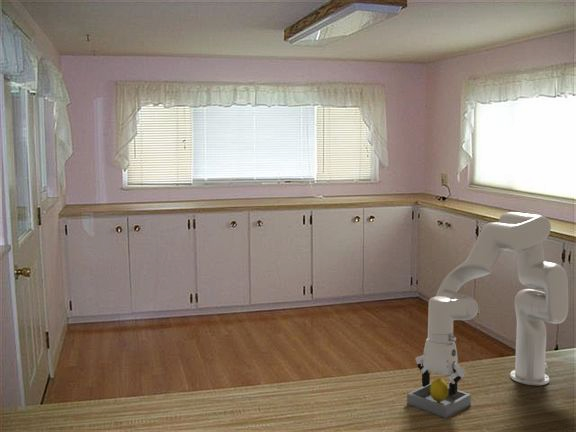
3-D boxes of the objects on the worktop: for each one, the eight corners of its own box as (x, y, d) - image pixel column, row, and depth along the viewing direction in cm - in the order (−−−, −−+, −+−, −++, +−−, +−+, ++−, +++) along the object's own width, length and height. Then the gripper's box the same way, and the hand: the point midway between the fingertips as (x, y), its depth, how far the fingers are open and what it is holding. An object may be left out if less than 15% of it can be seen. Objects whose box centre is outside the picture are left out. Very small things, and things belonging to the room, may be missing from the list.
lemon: (448, 407, 179) (449, 382, 178) (429, 405, 180) (430, 380, 179) (446, 399, 184) (448, 375, 183) (429, 398, 185) (430, 374, 184)
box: (432, 391, 192) (432, 381, 191) (470, 405, 181) (470, 394, 181) (406, 404, 182) (407, 393, 182) (445, 419, 172) (446, 407, 172)
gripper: (472, 340, 176) (470, 394, 178) (423, 328, 188) (422, 379, 190) (458, 346, 171) (457, 402, 172) (409, 333, 183) (409, 385, 185)
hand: (439, 389), depth 181 cm, fingers open, 9 cm apart
